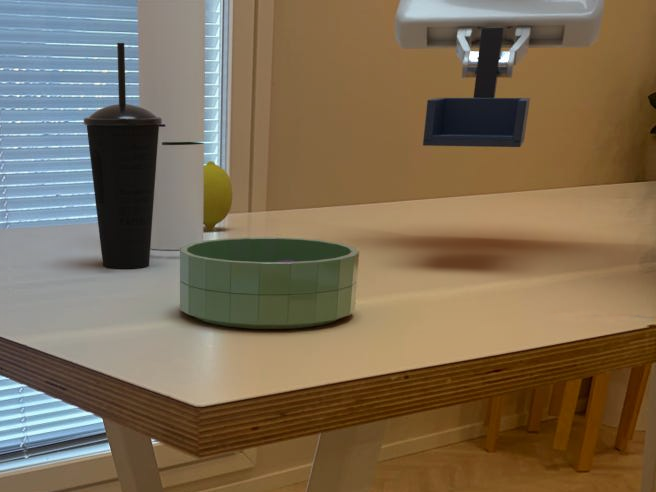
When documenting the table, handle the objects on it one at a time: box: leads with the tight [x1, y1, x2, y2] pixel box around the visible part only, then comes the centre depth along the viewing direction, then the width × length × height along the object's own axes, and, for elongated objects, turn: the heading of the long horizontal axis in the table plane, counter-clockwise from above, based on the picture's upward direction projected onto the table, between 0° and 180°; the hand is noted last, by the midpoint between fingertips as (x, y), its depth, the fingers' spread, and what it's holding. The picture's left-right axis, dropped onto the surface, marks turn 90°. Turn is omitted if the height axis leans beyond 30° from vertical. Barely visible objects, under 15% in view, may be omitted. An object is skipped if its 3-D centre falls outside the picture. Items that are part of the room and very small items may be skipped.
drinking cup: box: [83, 42, 162, 270], centre depth 102 cm, size 8×8×20 cm
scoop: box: [422, 27, 531, 148], centre depth 100 cm, size 9×12×10 cm
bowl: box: [179, 236, 360, 330], centre depth 83 cm, size 14×14×5 cm
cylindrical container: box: [137, 0, 206, 251], centre depth 113 cm, size 7×7×25 cm
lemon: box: [203, 160, 233, 231], centre depth 130 cm, size 6×6×8 cm
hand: (487, 72), depth 103 cm, fingers closed on scoop
